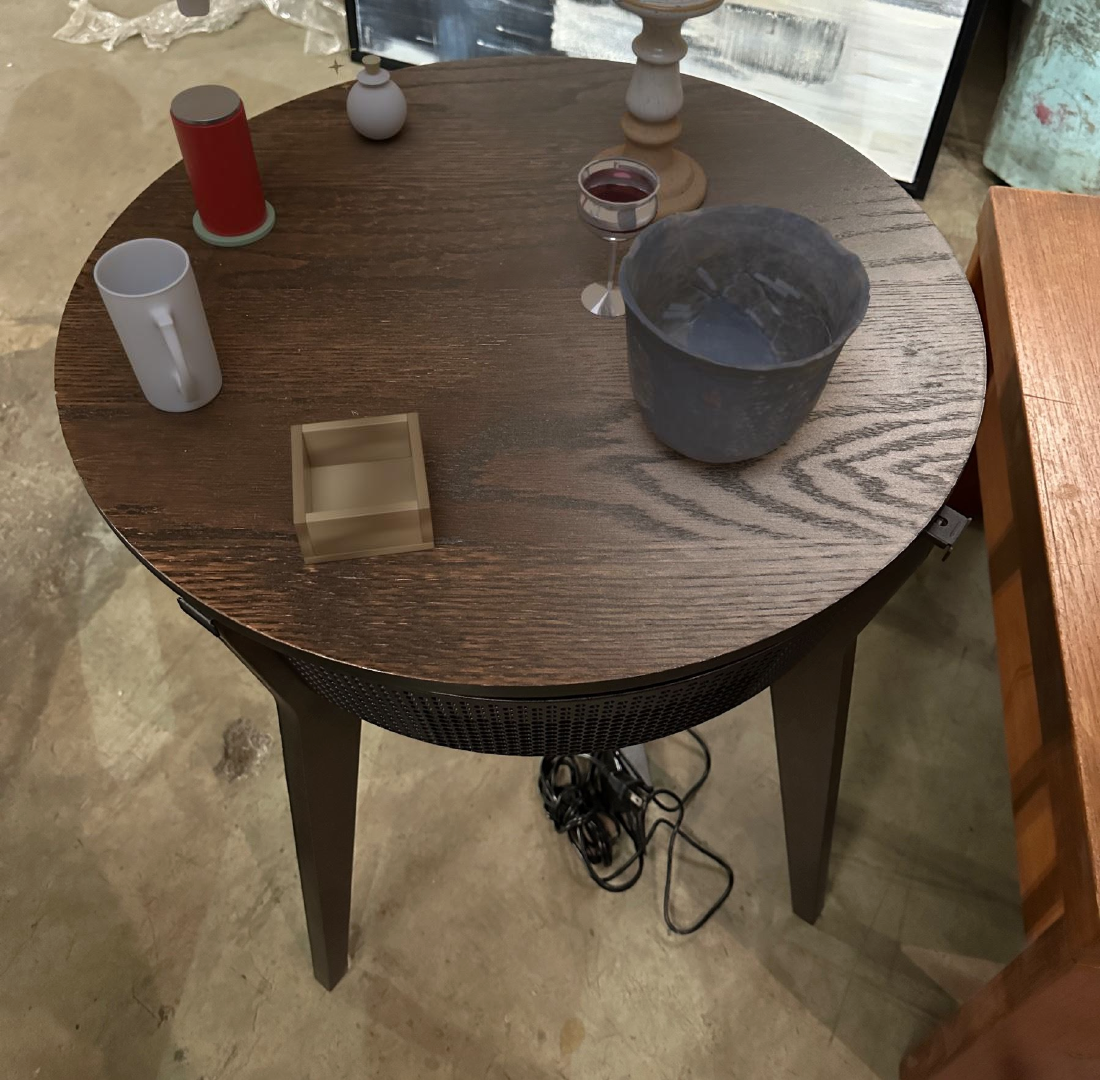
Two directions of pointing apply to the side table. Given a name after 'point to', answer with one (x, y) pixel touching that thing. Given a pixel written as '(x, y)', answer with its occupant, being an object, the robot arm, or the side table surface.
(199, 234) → the coaster
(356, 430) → the holder
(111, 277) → the mug
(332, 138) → the side table surface
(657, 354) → the dark grey metal pot
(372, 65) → the ornament
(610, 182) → the wineglass
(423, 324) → the side table surface
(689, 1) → the candle holder
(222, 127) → the can
